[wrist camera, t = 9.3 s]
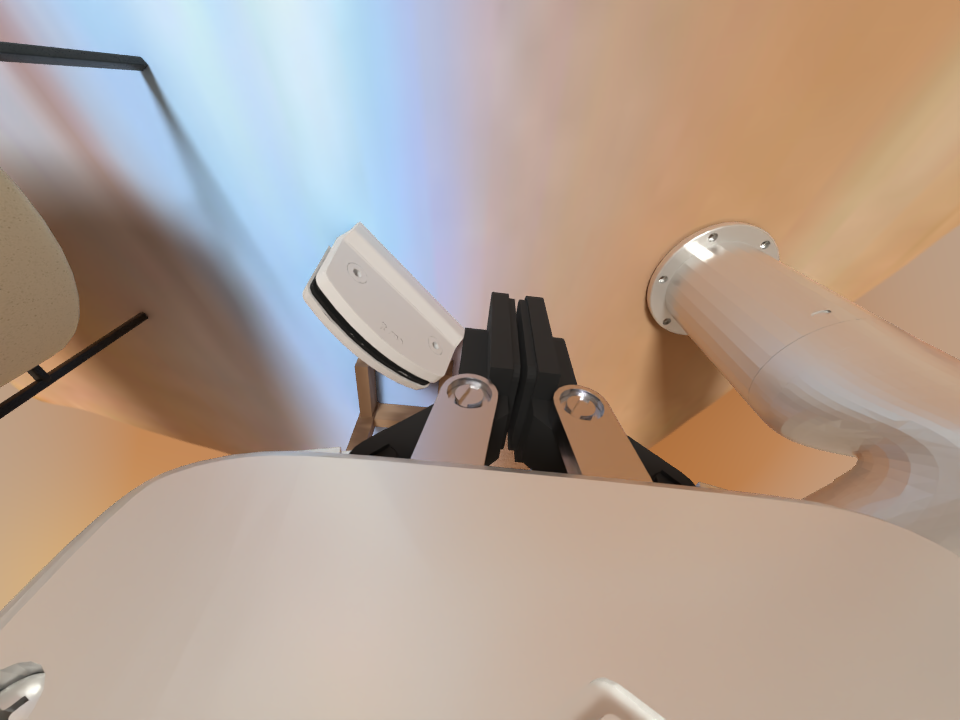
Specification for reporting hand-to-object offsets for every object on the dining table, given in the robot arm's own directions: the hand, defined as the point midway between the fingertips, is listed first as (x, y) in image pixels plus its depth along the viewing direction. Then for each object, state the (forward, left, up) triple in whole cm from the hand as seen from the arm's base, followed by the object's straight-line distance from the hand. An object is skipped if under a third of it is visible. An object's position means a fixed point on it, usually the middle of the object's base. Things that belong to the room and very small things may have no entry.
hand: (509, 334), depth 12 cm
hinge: (+8, +12, -25) cm, 29 cm away
